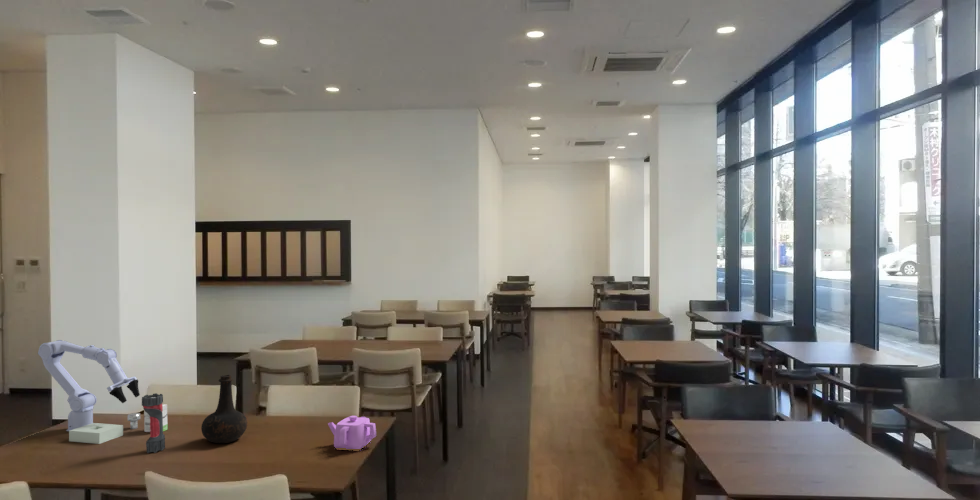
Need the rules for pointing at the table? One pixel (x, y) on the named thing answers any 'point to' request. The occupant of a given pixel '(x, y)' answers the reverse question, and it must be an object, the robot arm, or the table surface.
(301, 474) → the table surface
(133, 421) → the steel pin
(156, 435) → the flashlight
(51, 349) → the robot arm
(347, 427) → the teakettle
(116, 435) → the pin block
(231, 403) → the glass bottle
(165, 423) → the ink box
